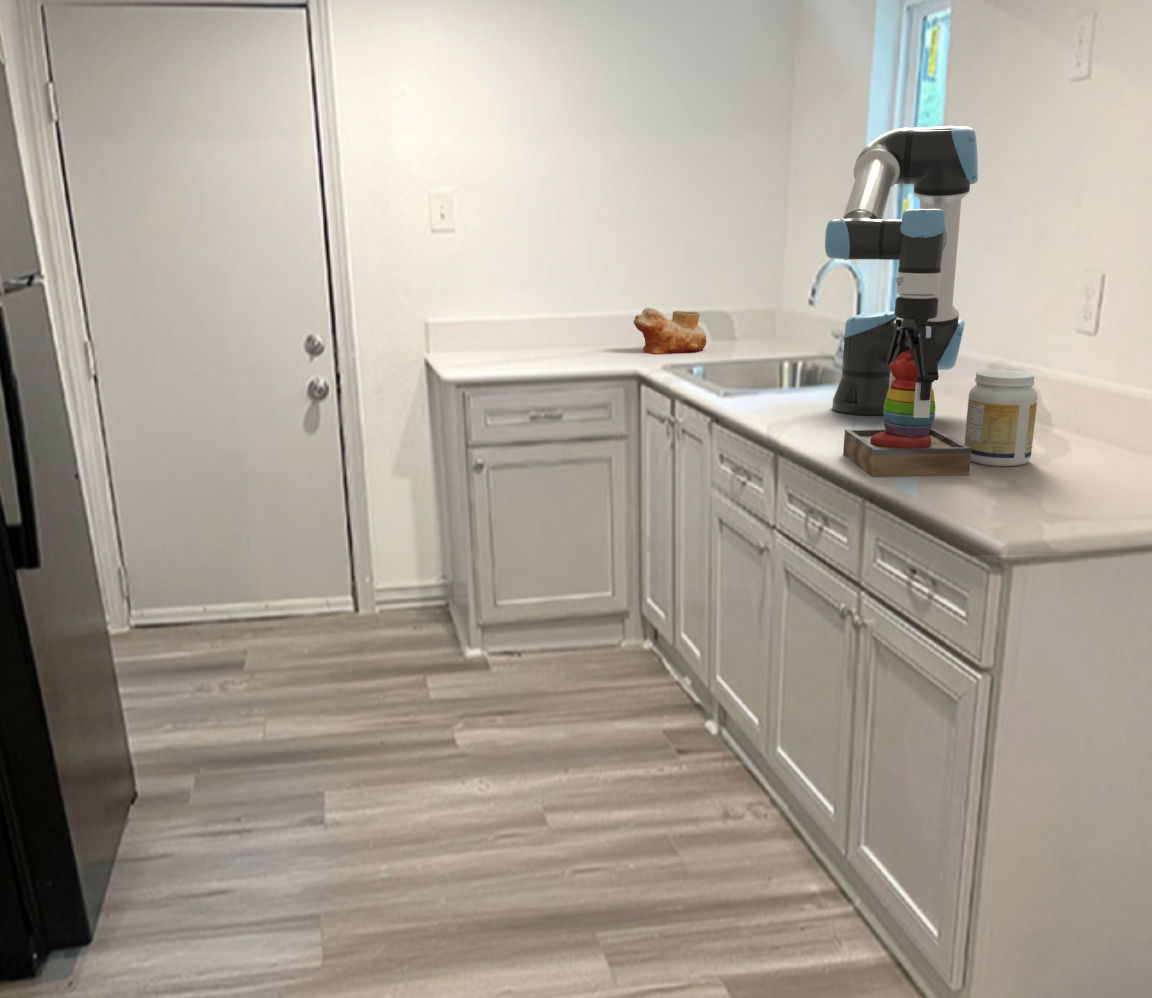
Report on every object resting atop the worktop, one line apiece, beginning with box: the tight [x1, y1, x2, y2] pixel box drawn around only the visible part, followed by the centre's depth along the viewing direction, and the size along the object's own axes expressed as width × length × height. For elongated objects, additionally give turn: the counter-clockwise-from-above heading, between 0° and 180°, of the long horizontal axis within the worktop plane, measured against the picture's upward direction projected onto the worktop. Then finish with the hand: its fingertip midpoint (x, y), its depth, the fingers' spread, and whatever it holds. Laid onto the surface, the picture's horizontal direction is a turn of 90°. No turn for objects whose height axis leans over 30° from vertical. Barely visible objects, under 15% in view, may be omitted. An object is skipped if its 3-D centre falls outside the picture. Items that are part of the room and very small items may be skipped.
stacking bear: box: [870, 350, 936, 448], centre depth 197 cm, size 11×10×18 cm
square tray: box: [842, 427, 972, 478], centre depth 199 cm, size 18×18×5 cm
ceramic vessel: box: [633, 307, 707, 356], centre depth 356 cm, size 14×26×15 cm, turn 107°
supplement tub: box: [963, 369, 1038, 467], centre depth 201 cm, size 12×12×17 cm
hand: (907, 410), depth 197 cm, fingers open, 13 cm apart
